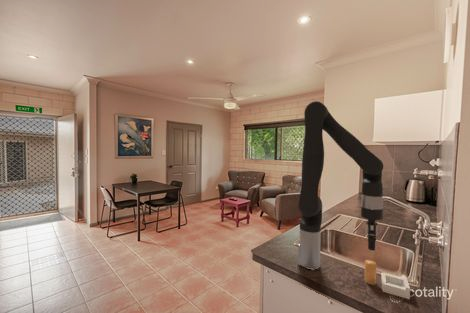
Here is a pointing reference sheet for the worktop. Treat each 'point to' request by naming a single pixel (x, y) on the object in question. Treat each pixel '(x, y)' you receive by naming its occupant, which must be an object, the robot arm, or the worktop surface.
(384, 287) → the housing
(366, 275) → the orange capsule
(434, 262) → the worktop surface
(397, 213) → the worktop surface
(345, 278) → the worktop surface
